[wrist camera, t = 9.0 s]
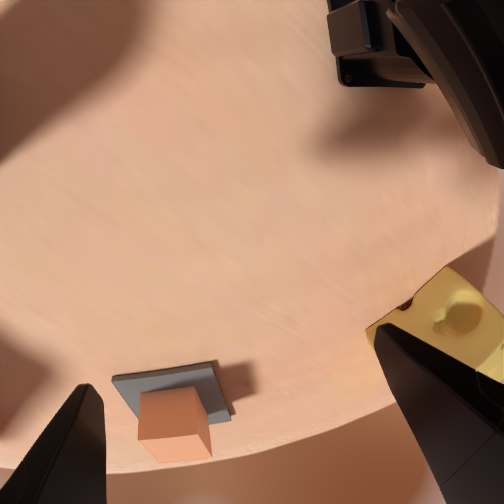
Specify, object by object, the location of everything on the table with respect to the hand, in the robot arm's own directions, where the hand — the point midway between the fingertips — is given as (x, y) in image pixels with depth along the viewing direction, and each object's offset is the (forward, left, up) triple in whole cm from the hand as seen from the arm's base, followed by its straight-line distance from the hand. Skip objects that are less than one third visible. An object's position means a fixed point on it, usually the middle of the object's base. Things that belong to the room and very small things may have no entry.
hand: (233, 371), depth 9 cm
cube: (+7, +17, -11) cm, 22 cm away
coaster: (+7, +17, -12) cm, 22 cm away
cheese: (-18, +15, -12) cm, 26 cm away
